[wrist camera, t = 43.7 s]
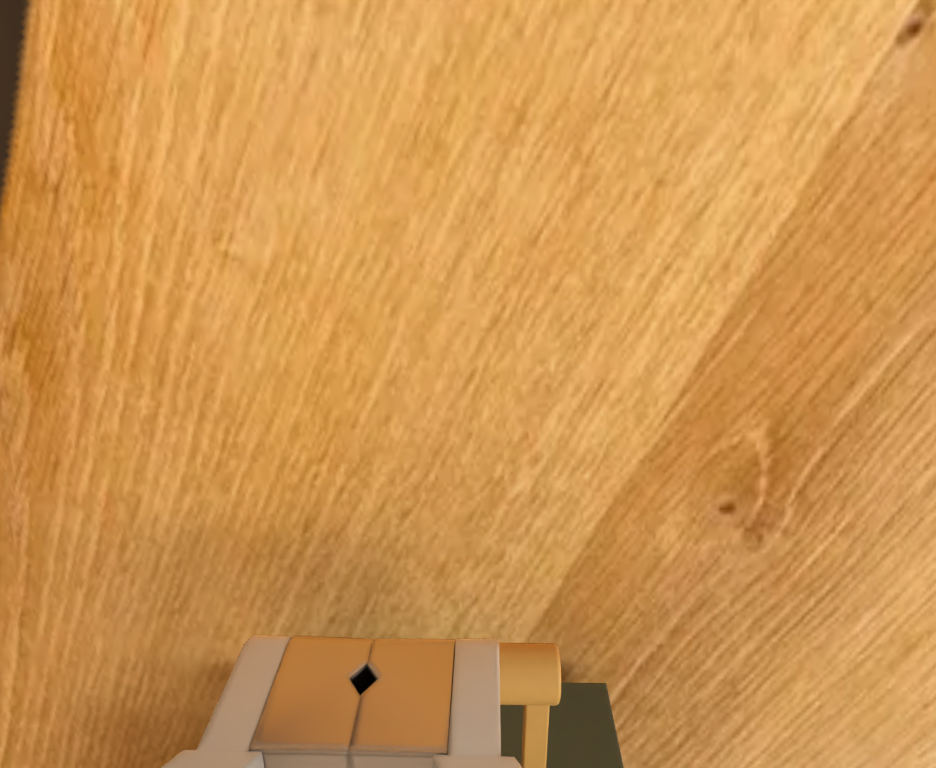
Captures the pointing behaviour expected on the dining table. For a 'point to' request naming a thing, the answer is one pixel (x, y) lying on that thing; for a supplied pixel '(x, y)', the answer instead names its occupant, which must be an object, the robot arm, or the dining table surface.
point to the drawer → (552, 713)
